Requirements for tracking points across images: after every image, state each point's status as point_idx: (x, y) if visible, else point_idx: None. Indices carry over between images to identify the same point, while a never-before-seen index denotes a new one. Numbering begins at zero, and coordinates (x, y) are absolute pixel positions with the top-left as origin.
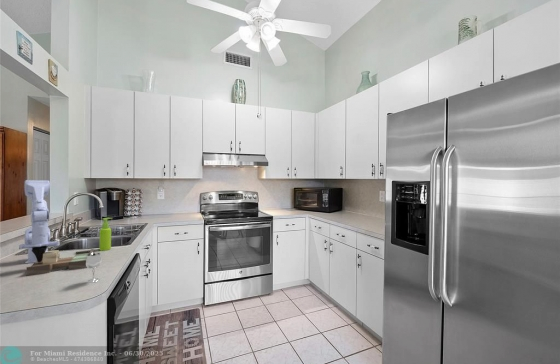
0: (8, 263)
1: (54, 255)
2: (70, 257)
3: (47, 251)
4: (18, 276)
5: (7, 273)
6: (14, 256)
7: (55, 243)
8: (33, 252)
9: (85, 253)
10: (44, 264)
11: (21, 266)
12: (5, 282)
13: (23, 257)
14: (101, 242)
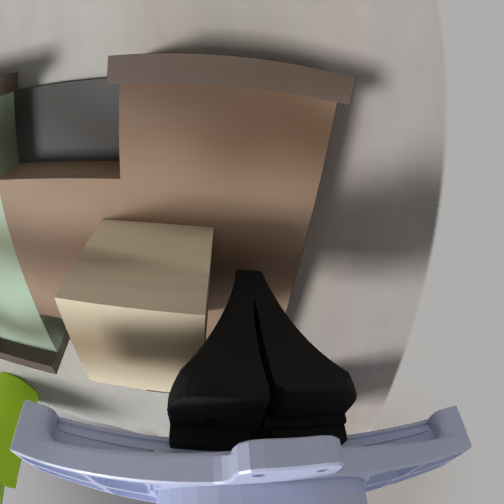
0: (381, 384)
1: (85, 274)
2: (53, 310)
3: None
4: (376, 97)
5: (423, 232)
6: (348, 433)
7: (43, 445)
8: (324, 357)
9: (12, 341)
10: (195, 207)
11: (347, 332)
12: (434, 7)
13: None
14: (8, 416)
